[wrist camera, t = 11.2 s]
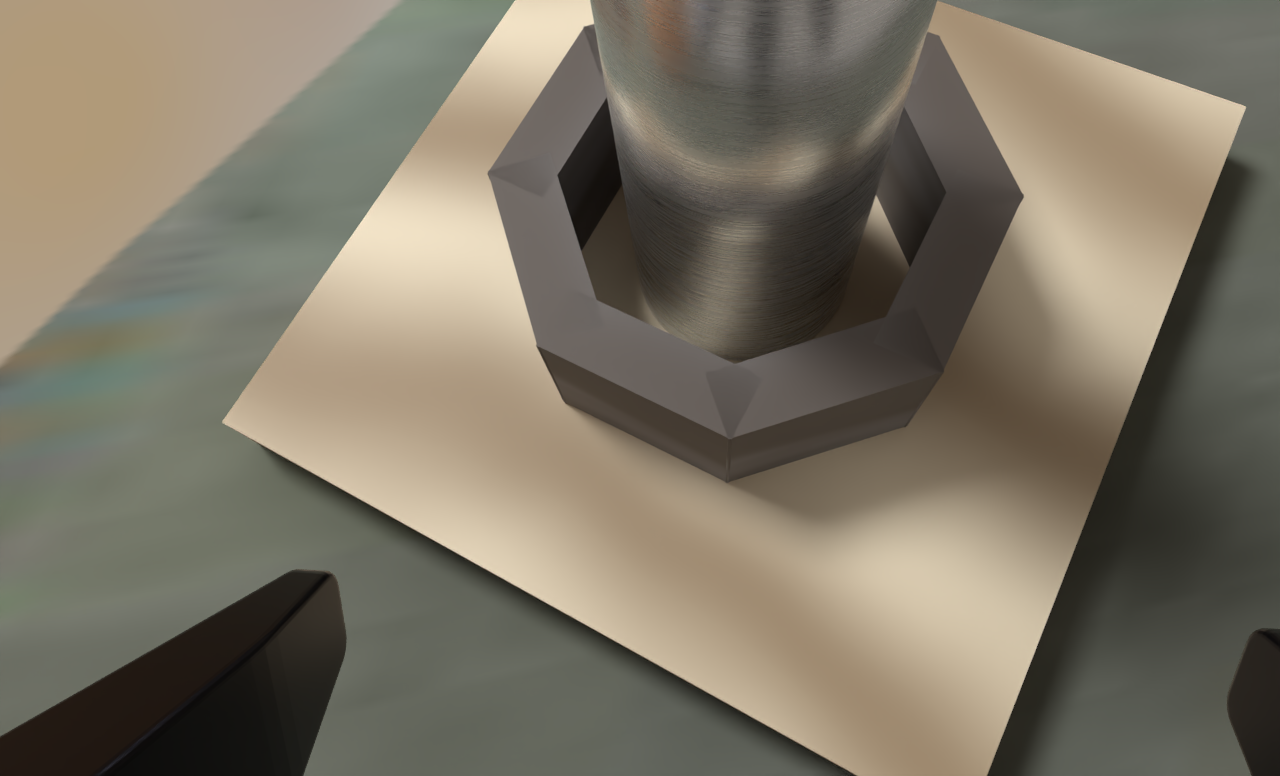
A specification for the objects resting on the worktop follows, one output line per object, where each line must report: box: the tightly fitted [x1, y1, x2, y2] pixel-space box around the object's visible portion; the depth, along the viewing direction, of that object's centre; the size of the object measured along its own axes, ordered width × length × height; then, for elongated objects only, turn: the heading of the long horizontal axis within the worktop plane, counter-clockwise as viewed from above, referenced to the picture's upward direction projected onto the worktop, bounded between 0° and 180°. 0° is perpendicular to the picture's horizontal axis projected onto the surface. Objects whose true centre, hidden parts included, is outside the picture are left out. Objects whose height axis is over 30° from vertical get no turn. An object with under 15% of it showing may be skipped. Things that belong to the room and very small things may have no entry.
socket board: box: [222, 0, 1246, 776], centre depth 18 cm, size 16×16×4 cm
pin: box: [590, 0, 937, 361], centre depth 13 cm, size 4×4×13 cm
